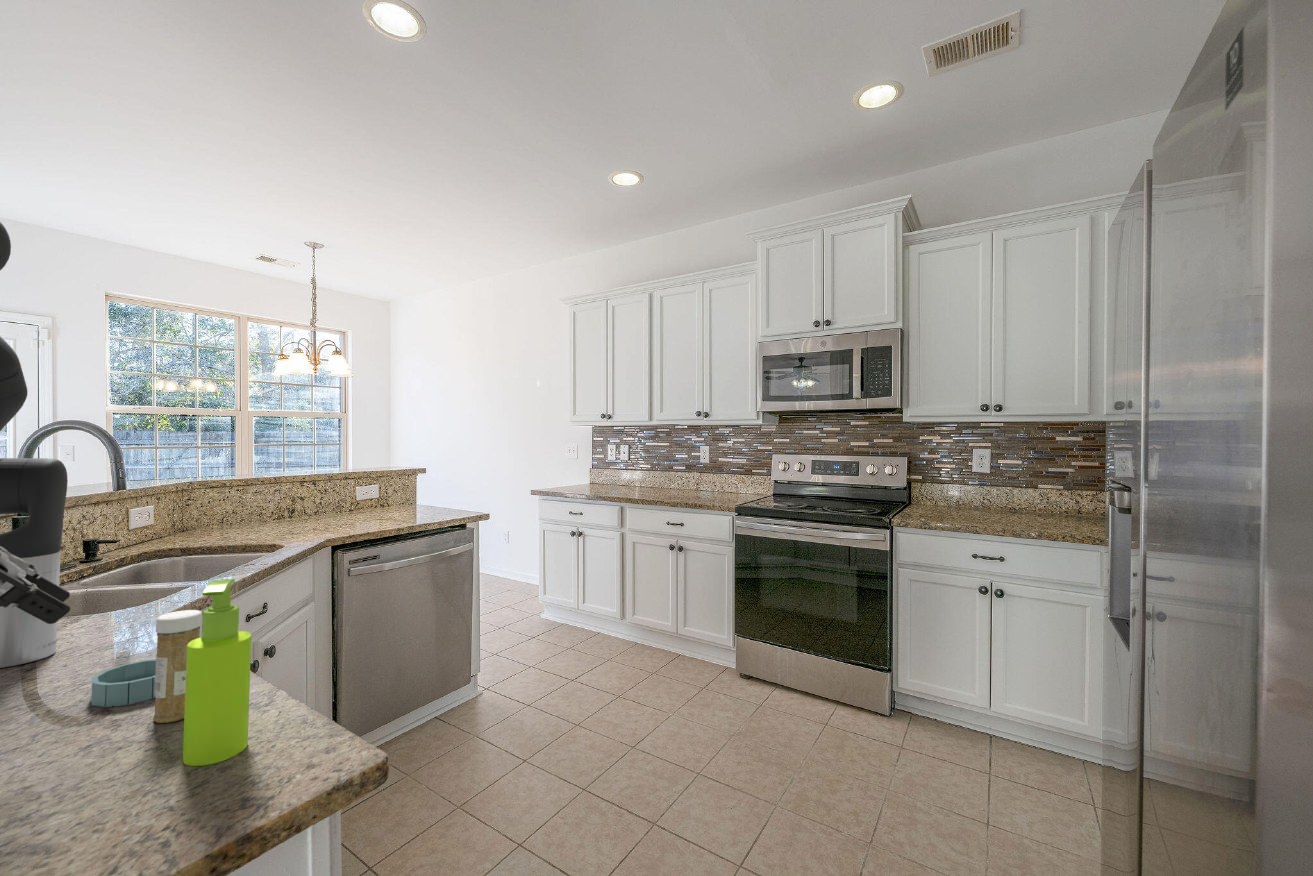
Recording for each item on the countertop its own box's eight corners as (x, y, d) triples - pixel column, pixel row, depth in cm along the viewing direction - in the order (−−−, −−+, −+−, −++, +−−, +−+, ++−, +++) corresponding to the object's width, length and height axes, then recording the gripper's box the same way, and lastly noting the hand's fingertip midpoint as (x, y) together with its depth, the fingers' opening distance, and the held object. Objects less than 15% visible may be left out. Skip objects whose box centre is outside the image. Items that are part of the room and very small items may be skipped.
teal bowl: (73, 710, 72) (74, 688, 72) (117, 682, 81) (118, 662, 81) (158, 701, 75) (159, 680, 75) (192, 675, 83) (192, 655, 83)
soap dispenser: (171, 776, 58) (178, 590, 58) (191, 745, 64) (197, 577, 64) (239, 763, 61) (245, 585, 61) (252, 734, 67) (257, 572, 67)
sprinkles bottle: (195, 718, 70) (199, 615, 71) (148, 728, 68) (152, 621, 68) (201, 704, 74) (204, 606, 74) (156, 713, 72) (160, 611, 72)
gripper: (-65, 497, 53) (98, 593, 61) (-46, 489, 62) (93, 573, 70) (-166, 559, 48) (24, 653, 57) (-129, 540, 58) (29, 623, 66)
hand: (62, 608), depth 63 cm, fingers open, 8 cm apart
